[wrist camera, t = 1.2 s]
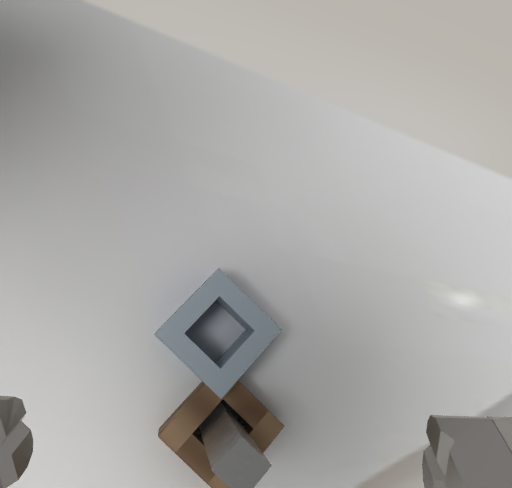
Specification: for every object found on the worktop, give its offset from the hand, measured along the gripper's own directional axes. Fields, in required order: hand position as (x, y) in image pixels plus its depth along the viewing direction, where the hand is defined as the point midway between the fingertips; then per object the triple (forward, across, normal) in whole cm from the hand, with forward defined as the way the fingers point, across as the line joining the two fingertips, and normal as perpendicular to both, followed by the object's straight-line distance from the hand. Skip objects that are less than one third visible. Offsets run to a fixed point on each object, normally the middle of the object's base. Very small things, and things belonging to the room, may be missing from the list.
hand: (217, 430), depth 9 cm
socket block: (+29, +7, +27) cm, 40 cm away
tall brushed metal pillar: (+29, +7, +27) cm, 40 cm away
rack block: (+34, +8, +18) cm, 39 cm away
